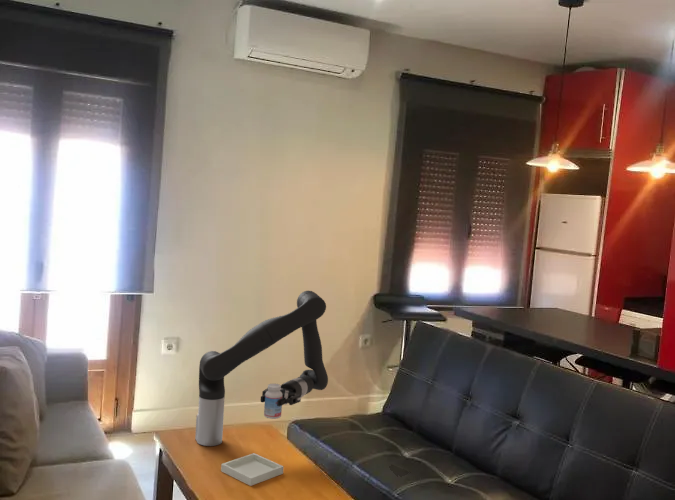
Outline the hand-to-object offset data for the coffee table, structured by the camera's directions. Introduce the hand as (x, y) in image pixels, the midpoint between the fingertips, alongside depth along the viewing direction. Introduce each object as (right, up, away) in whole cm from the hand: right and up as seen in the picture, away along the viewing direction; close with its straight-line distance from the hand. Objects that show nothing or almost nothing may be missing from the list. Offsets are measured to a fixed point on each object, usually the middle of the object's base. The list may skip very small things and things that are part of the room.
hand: (270, 401), depth 243 cm
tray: (-5, -21, -10) cm, 24 cm away
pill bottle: (+1, -6, +3) cm, 7 cm away
